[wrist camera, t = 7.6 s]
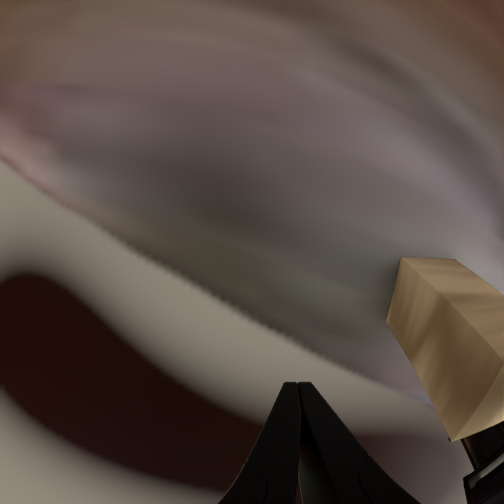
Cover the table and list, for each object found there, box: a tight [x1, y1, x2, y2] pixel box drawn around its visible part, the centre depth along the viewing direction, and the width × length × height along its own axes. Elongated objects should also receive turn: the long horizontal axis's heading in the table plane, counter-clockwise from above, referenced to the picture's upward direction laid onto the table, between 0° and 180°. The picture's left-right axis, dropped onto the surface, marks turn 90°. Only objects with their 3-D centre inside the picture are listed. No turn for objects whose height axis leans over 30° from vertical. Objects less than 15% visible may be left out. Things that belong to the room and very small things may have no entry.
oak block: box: [386, 257, 504, 442], centre depth 10 cm, size 4×4×9 cm
